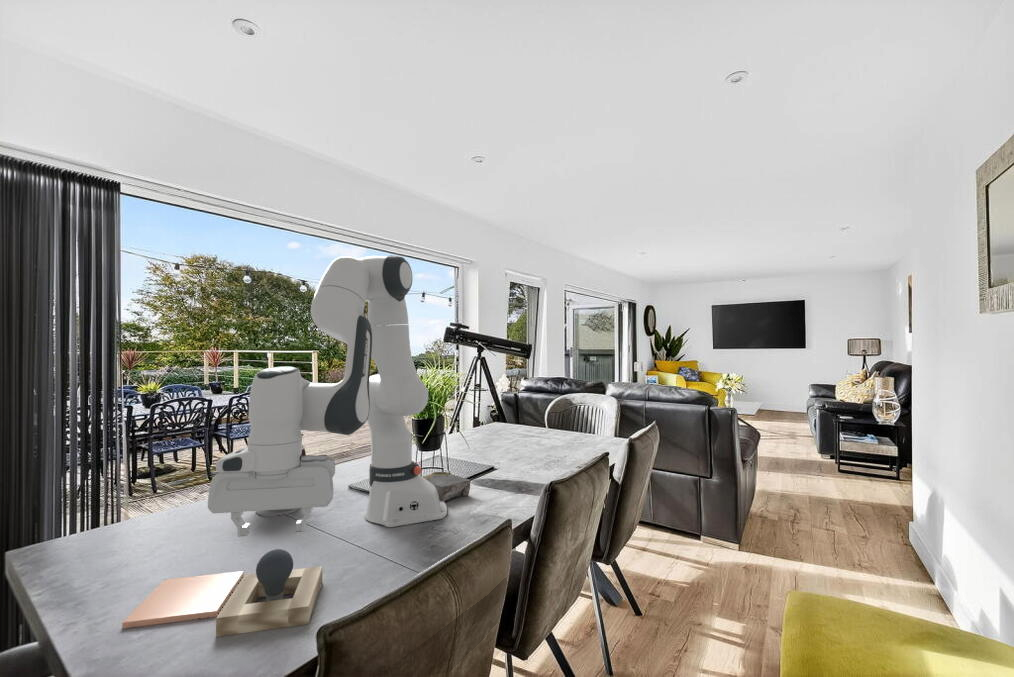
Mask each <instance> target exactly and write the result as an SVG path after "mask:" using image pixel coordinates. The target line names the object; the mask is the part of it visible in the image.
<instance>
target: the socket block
mask: <svg viewBox="0 0 1014 677" xmlns="http://www.w3.org/2000/svg"><path fill="white" fill-rule="evenodd" d="M322 583H323V565H321V566H314V567H313V566H311V567H305V568H293V569H292V572H291V574H290V576H289V577H288V579H287V581H286V583H285V588H284V591H283V592H282V595H288V594H294V595H293V597H292V598H285V599H283V598H282V600H275V601H267V600H266V601H261V602H260V601H259V602H257V600H258V598H264V597H267V595H266V594H265V589H264V587H263V585H262V584H261V583H260V582H259V581H258V579H257V576H256V573H249V574H244V576H243V578H242V579H241V581H240V582H239V584H238V585H237V587H236V588H235V590H234V591H233V593H232V594H231V596H230V597H229V599H228V600H227V602H226V603H225V605H224V606H223V608H222V609H221V611H220V612H219V614H218V615H217V617H215V637H216V638H217V637H223V636H230V635H231V636H232V635H238V634H246V633H252V632H261V631H268V630H274V629H275V630H277V629H283V628H288V627H289V628H290V627H296V626H305V625H310V622H311V618H312V615H311V614H313V612H312V611H314V608H315V605H316V601H317V598H318V597H319V596H318V595H319V592H320V590H321V586H322ZM310 617H311V618H310Z"/></svg>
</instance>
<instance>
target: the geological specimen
mask: <svg viewBox="0 0 1014 677" xmlns="http://www.w3.org/2000/svg"><path fill="white" fill-rule="evenodd" d="M422 477H423V478H425V479H426V480H427V481H429V482H430V483H432V484H433V485H434V486H435V487H436V489H437V492H438V495H439V500H440V501H442V502H446V501H449V500H451V499H453V498H454V497H455V498H457V497H460V496H461V497H462V496H463V497H468V496H469V495H470V491H471V490H470V489H471V483H472V482H471V479H469V478H466V477H462V476H459V475H455V474H452V473H451V472H445V471H434V472H432V473H431V474H427V475H423V476H422Z"/></svg>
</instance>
